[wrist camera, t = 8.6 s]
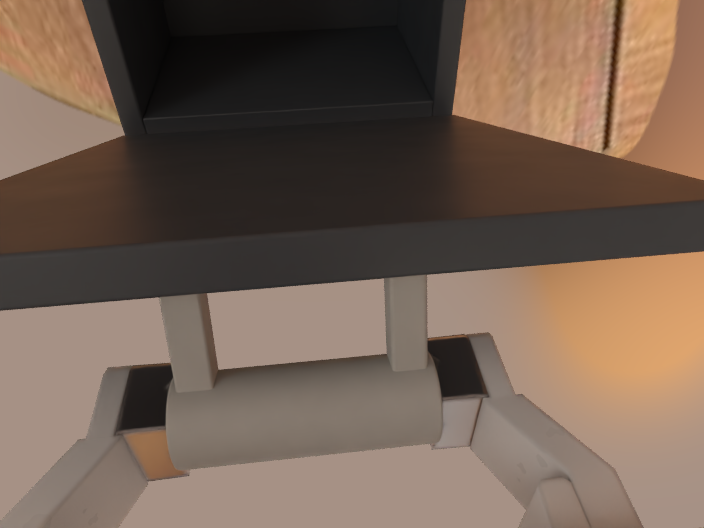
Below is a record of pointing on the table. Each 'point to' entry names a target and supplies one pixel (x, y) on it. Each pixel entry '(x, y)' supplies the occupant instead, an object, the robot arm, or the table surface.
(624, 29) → the table surface
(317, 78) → the dark grey box
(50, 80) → the table surface
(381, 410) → the lid
